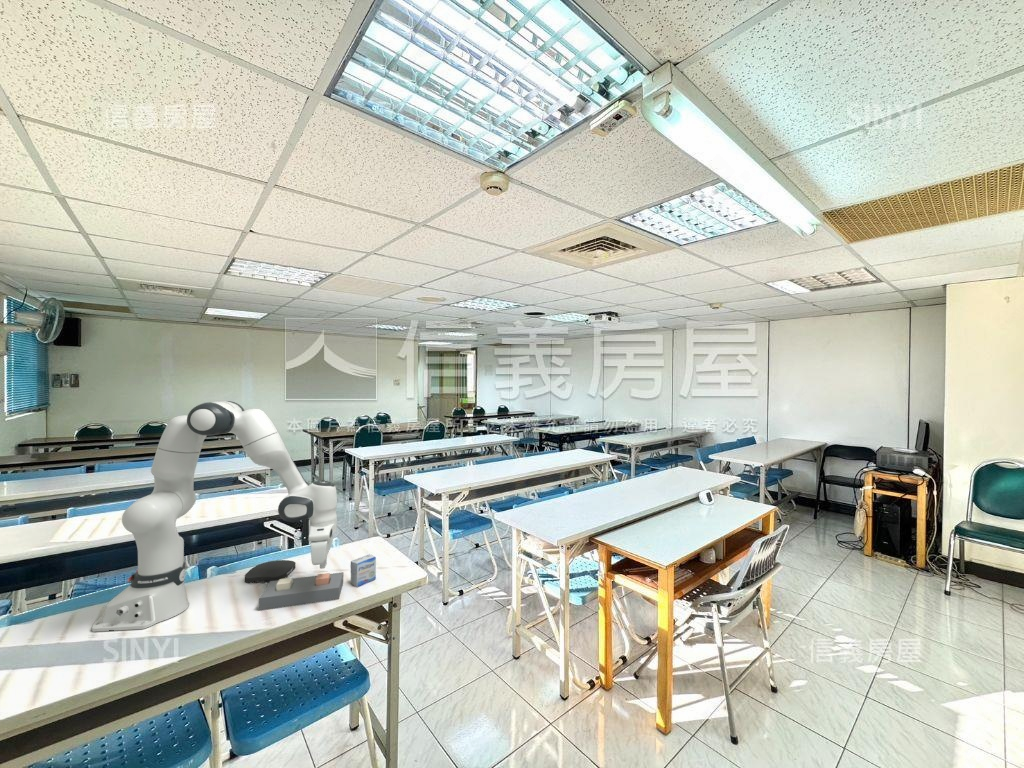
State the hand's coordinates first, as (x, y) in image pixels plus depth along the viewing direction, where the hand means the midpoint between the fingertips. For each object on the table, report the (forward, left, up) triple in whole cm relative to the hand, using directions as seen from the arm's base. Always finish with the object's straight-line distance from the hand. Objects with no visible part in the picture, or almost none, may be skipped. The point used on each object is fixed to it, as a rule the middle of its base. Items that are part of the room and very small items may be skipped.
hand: (323, 566), depth 138 cm
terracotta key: (0, 0, -6) cm, 6 cm away
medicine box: (+13, +5, -10) cm, 17 cm away
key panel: (-6, 0, -9) cm, 11 cm away
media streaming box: (-22, +22, -10) cm, 33 cm away
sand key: (-12, 0, -6) cm, 14 cm away
